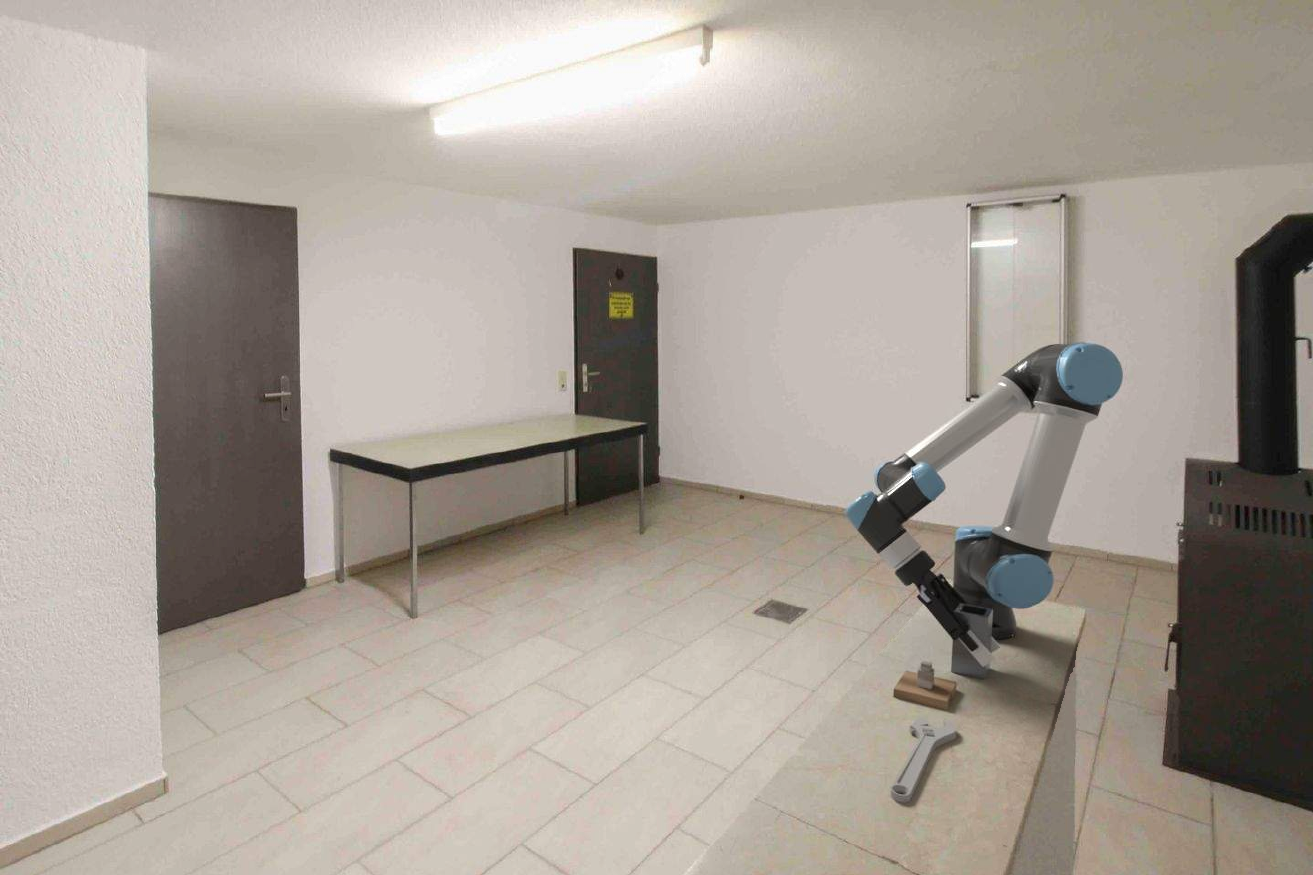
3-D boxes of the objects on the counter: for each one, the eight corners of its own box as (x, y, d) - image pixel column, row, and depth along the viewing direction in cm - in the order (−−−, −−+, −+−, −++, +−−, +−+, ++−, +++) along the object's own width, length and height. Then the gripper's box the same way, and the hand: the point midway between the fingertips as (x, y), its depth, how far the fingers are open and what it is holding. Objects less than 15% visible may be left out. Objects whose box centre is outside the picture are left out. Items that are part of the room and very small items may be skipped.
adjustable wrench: (907, 808, 98) (908, 796, 97) (861, 791, 101) (862, 779, 101) (959, 733, 117) (960, 722, 117) (919, 721, 121) (920, 710, 121)
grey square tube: (957, 661, 145) (960, 602, 143) (989, 668, 141) (993, 608, 140) (951, 671, 140) (954, 611, 138) (984, 679, 136) (988, 617, 135)
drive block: (905, 680, 137) (906, 648, 136) (956, 692, 132) (957, 659, 131) (893, 699, 129) (894, 665, 128) (946, 712, 124) (948, 677, 124)
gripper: (905, 560, 155) (984, 650, 148) (880, 582, 139) (967, 684, 132) (932, 539, 151) (1014, 630, 144) (910, 559, 135) (1000, 663, 128)
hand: (991, 656), depth 138 cm, fingers open, 6 cm apart
